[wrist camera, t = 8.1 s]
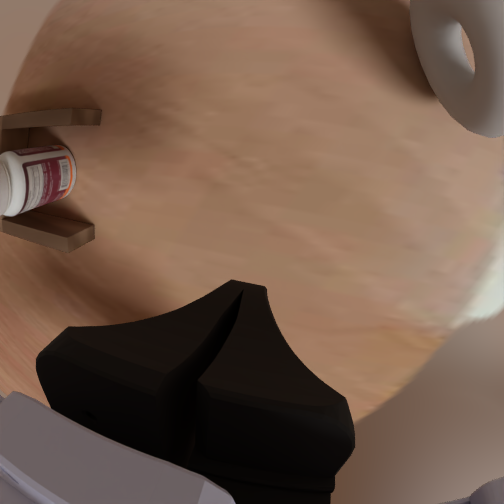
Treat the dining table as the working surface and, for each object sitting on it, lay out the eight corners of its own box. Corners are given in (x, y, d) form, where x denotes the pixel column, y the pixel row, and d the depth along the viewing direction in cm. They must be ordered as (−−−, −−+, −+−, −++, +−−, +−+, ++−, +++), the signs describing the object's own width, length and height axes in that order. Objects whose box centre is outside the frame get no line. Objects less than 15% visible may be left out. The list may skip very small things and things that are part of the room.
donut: (384, 7, 13) (432, -72, 4) (425, 4, 13) (487, -60, 3) (435, 140, 16) (531, 146, 7) (473, 133, 15) (572, 139, 6)
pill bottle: (35, 174, 22) (-36, 193, 14) (58, 133, 20) (-20, 141, 12) (61, 210, 22) (-12, 240, 14) (86, 170, 21) (6, 189, 13)
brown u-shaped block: (94, 238, 23) (68, 253, 19) (21, 220, 24) (-4, 230, 20) (101, 110, 19) (72, 107, 16) (23, 115, 20) (-4, 116, 17)
